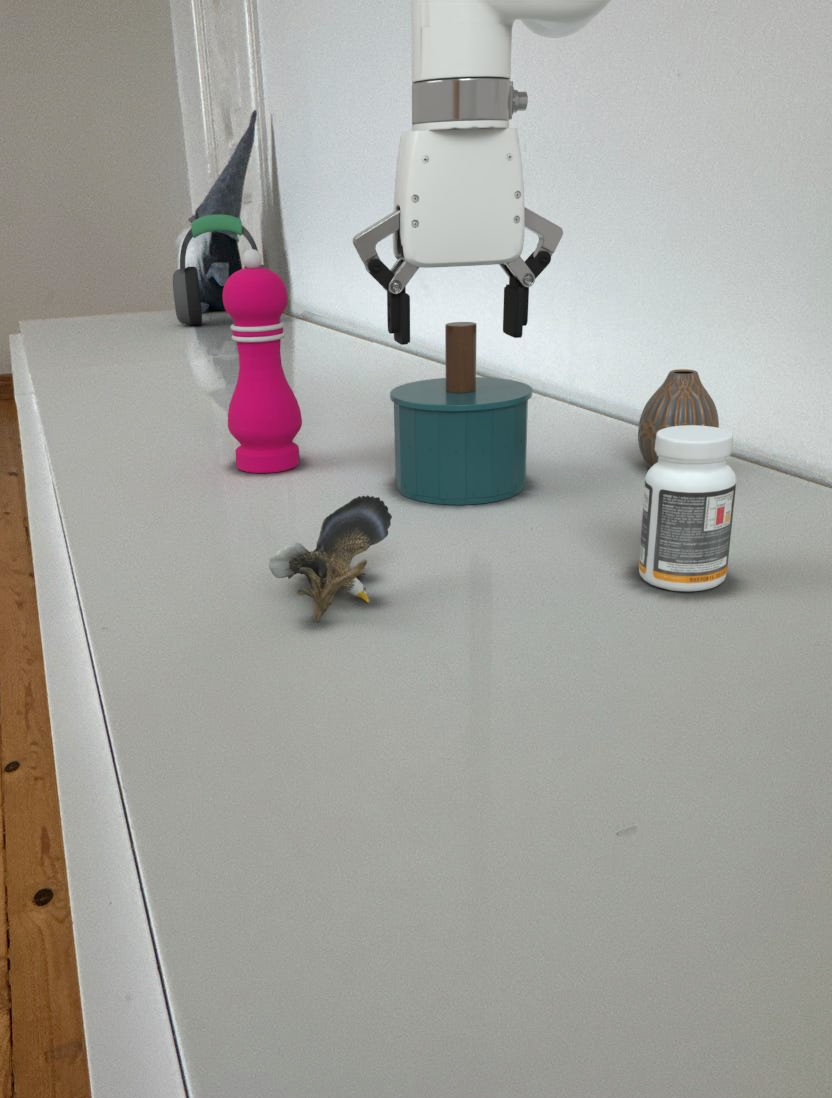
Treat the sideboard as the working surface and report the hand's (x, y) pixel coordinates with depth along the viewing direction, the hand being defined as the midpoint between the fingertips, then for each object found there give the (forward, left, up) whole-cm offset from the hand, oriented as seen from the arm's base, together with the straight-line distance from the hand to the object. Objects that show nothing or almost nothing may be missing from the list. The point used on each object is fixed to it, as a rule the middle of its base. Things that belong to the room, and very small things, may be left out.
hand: (457, 338), depth 84 cm
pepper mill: (+16, -13, -13) cm, 24 cm away
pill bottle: (-8, +26, -13) cm, 30 cm away
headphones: (+13, -125, -13) cm, 126 cm away
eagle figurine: (+15, +23, -13) cm, 30 cm away
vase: (-20, +1, -13) cm, 24 cm away
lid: (0, 0, -5) cm, 5 cm away
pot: (0, 0, -13) cm, 13 cm away
